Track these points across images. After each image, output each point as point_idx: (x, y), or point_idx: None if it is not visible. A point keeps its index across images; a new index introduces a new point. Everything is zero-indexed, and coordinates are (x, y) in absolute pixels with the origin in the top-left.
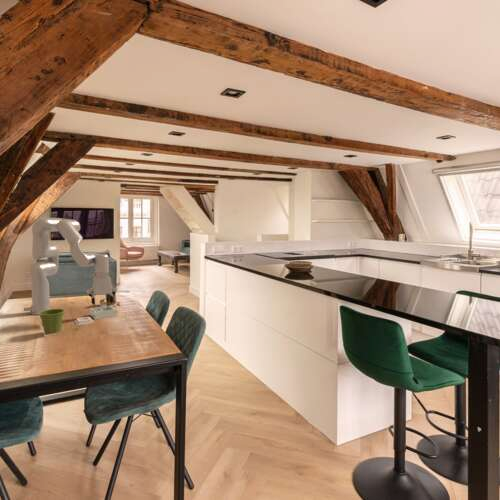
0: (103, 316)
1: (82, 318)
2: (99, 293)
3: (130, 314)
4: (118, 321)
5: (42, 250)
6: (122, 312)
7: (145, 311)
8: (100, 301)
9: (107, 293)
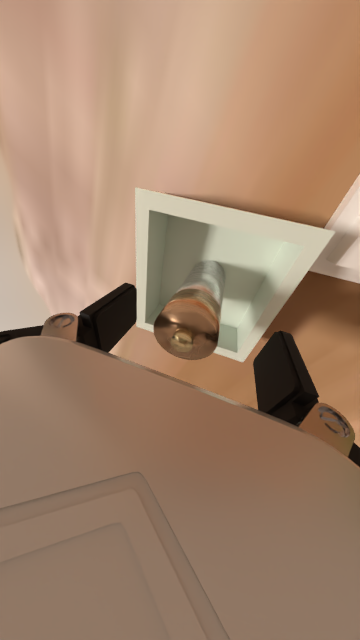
0: (247, 211)
1: None
2: (263, 440)
3: (81, 213)
4: (198, 5)
5: None
6: (110, 283)
7: (13, 214)
8: (218, 330)
9: (90, 352)
